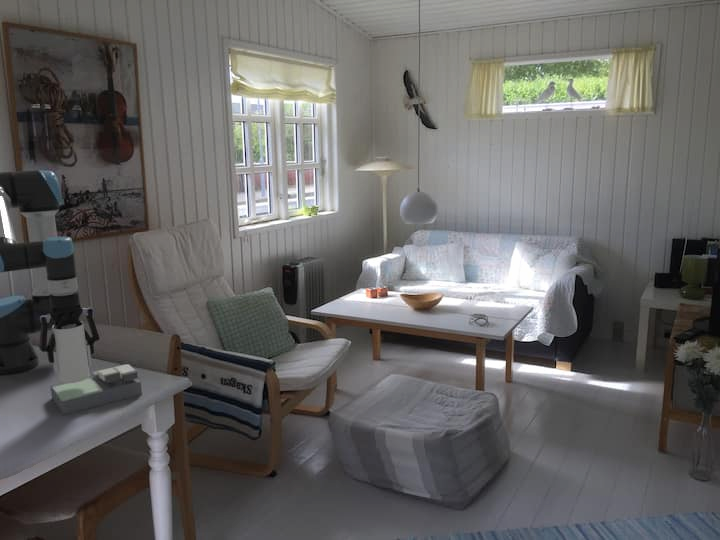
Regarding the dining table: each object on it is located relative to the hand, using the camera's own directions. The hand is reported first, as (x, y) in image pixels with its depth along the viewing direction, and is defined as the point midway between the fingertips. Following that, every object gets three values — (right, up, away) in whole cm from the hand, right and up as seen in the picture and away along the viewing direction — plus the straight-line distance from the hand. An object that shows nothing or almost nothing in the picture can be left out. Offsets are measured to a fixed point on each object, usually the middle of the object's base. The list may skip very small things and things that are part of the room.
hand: (73, 368), depth 182 cm
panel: (+4, -9, +7) cm, 12 cm away
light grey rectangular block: (+5, -3, +9) cm, 11 cm away
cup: (0, -3, +1) cm, 3 cm away
